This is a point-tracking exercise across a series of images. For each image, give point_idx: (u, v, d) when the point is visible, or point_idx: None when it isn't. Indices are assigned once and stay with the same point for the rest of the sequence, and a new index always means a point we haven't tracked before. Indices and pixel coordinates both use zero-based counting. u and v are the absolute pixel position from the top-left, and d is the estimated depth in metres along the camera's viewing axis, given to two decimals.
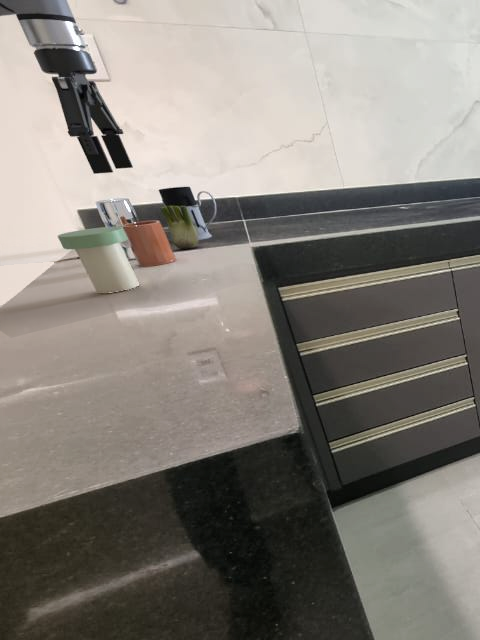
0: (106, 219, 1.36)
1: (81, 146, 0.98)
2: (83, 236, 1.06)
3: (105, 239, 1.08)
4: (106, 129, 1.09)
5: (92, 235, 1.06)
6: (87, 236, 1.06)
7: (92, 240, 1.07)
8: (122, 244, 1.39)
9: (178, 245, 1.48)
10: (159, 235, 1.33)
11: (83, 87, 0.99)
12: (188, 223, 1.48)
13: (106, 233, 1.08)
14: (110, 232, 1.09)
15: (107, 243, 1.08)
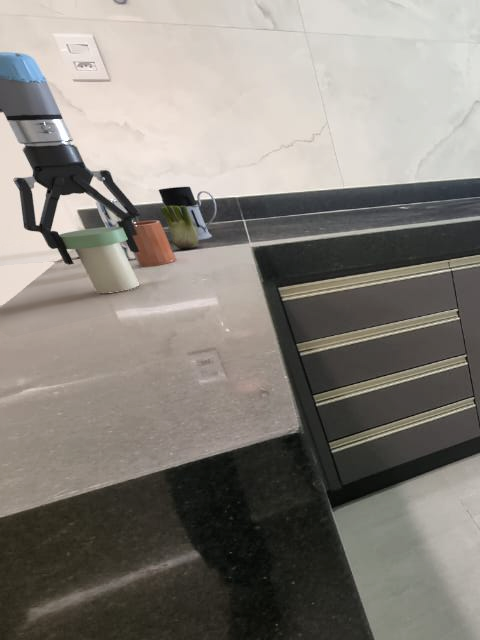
0: (106, 219, 1.36)
1: None
2: (83, 236, 1.06)
3: (105, 239, 1.08)
4: None
5: (92, 235, 1.06)
6: (87, 236, 1.06)
7: (92, 240, 1.07)
8: (122, 244, 1.39)
9: (178, 245, 1.48)
10: (159, 235, 1.33)
11: (53, 180, 1.03)
12: (188, 223, 1.48)
13: (106, 233, 1.08)
14: (110, 232, 1.09)
15: (107, 243, 1.08)
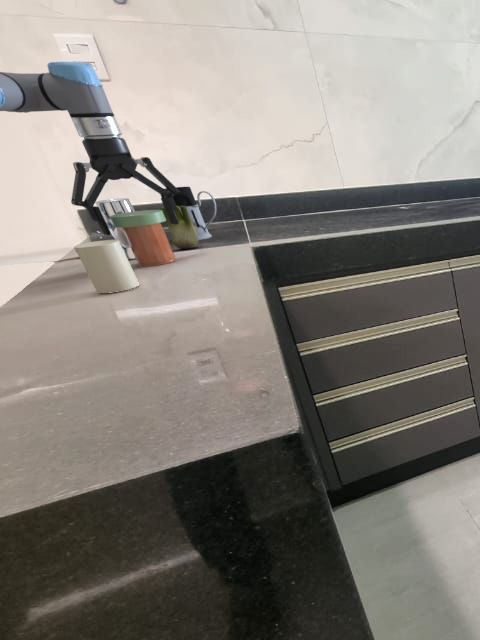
0: (106, 219, 1.36)
1: None
2: (131, 216, 1.27)
3: (149, 219, 1.30)
4: None
5: (138, 216, 1.28)
6: (134, 216, 1.27)
7: (138, 220, 1.28)
8: (122, 244, 1.39)
9: (178, 245, 1.48)
10: (159, 235, 1.33)
11: (106, 167, 1.24)
12: (188, 223, 1.48)
13: (150, 214, 1.30)
14: (153, 214, 1.30)
15: (150, 223, 1.30)
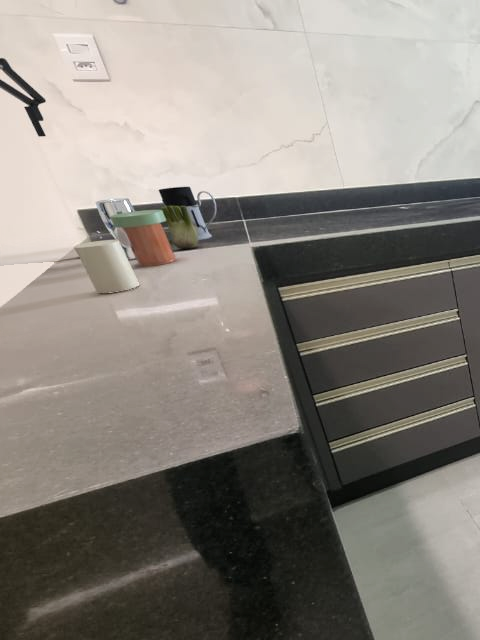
0: (106, 219, 1.36)
1: None
2: (131, 216, 1.27)
3: (149, 219, 1.30)
4: None
5: (138, 216, 1.28)
6: (134, 216, 1.27)
7: (138, 220, 1.28)
8: (122, 244, 1.39)
9: (178, 245, 1.48)
10: (159, 235, 1.33)
11: None
12: (188, 223, 1.48)
13: (150, 214, 1.30)
14: (153, 214, 1.30)
15: (150, 223, 1.30)
